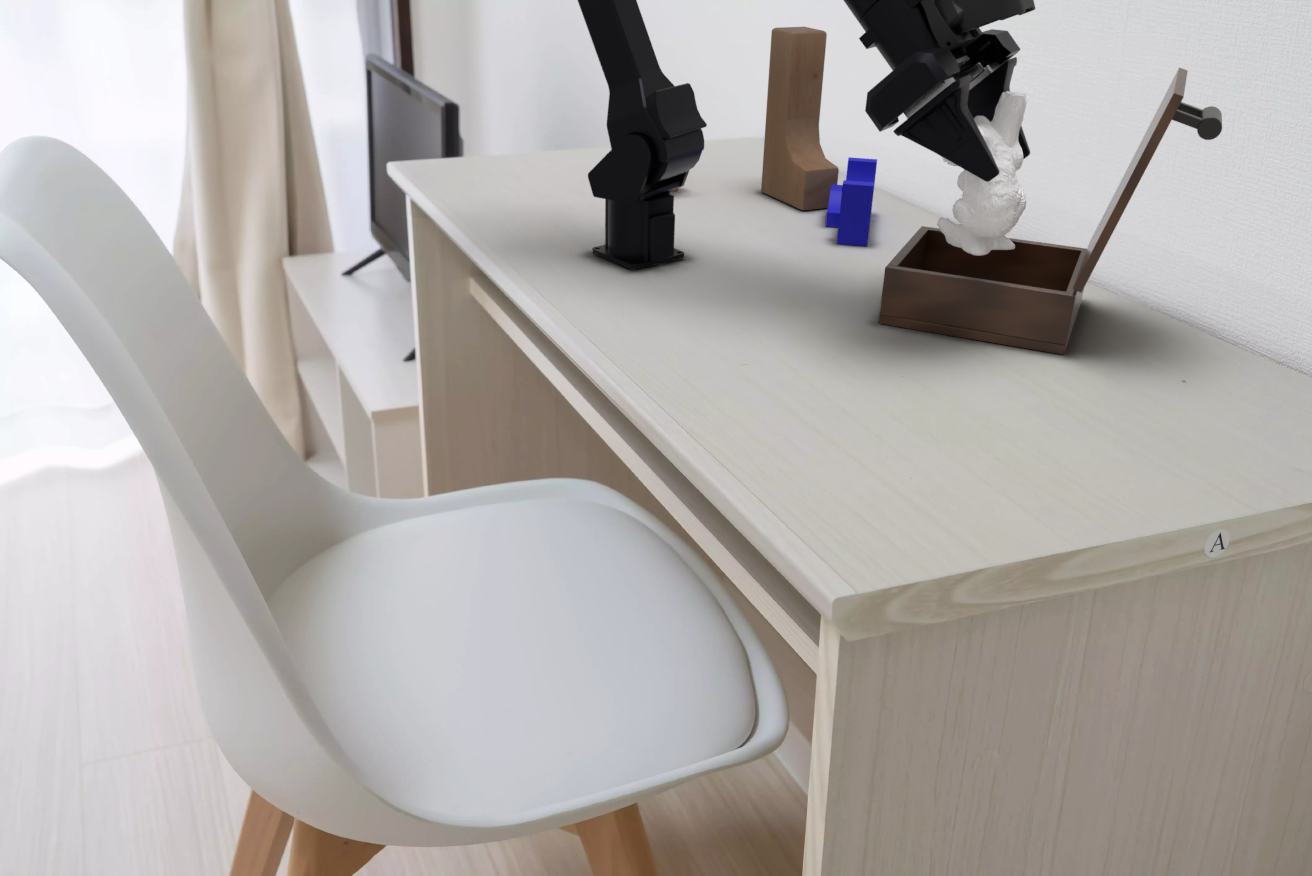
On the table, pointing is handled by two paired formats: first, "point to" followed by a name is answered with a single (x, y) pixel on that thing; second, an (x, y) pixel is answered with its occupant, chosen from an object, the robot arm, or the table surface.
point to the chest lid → (1169, 109)
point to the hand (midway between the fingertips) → (1009, 167)
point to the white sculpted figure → (991, 185)
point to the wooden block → (796, 121)
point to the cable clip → (853, 202)
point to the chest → (984, 291)
